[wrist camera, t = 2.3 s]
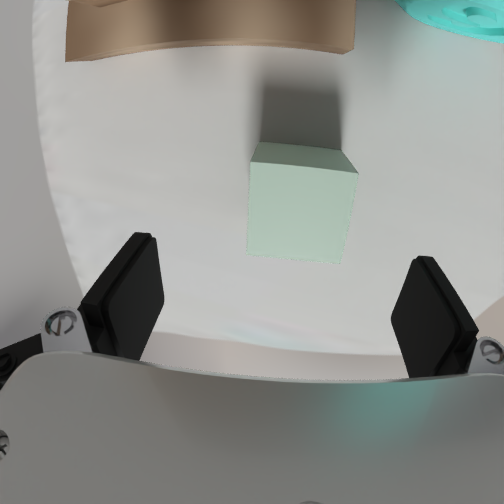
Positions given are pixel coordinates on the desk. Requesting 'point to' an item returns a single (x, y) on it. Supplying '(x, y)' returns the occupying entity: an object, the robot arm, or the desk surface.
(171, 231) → the desk surface
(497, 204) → the desk surface
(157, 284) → the robot arm
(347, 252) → the desk surface
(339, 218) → the sage block
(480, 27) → the decorative dice
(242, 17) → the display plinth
